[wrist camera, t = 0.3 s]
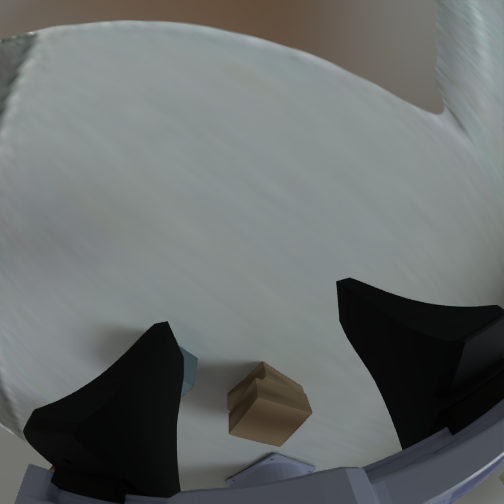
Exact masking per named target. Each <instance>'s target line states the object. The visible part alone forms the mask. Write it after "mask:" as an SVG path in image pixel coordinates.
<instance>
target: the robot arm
mask: <svg viewBox="0 0 504 504" xmlns="http://www.w3.org/2000/svg"><path fill="white" fill-rule="evenodd" d="M336 285H337V296H338V308H339V321H340V323H341V325H342V328H343V330H344V332H345V334H346V336H347V338H348V340H349V342H350V343H351V345H352V346H353V348H354V349H355V351H356V352H357V354H358V355H359V357H360V358H361V360H362V361H363V363H364V364H365V366H366V367H367V369H368V371H369V372H370V374H371V375H372V377H373V379H374V381H375V382H376V384H377V387H378V389H379V391H380V393H381V395H382V397H383V399H384V402H385V404H386V406H387V409H388V411H389V414H390V416H391V419H392V421H393V424H394V427H395V429H396V432H397V435H398V438H399V441H400V444H401V447H402V451H400V452H398V453H396V454H394V455H391V456H389V457H387V458H385V459H382V460H380V461H377V462H375V463H372V464H370V465H367V466H365V467H362V468H358V467H338V468H333V469H328V470H323V471H318V472H314V473H312V472H313V471H315V470H316V467H315V466H311V465H308V464H305V463H302V462H299V461H296V460H293V459H290V458H287V457H285V456H282V455H279V454H276V453H274V454H271V455H270V456H268V457H266V458H265V459H263V460H261V461H260V462H258V463H256V464H255V465H253V466H251V467H250V468H248V469H246V470H244V471H242V472H241V473H239V474H237V475H235V476H233V477H231V478H229V479H228V480H226V484H228V485H231V487H228V488H215V489H198V490H190V491H181V490H180V483H179V474H178V463H177V419H178V412H179V405H180V399H181V393H182V386H183V379H184V356H183V354H182V352H181V350H180V348H179V346H178V343H177V341H176V339H175V337H174V335H173V332H172V330H171V328H170V325H169V323H168V321H166V322H161V323H156V324H154V325H153V326H151V327H150V328H149V329H148V330H147V331H146V332H145V333H144V334H143V335H142V336H141V337H140V338H139V339H138V340H137V341H136V342H135V343H134V345H133V346H132V347H131V348H130V349H129V350H128V351H127V352H126V353H125V354H123V355H122V356H121V357H120V358H119V359H118V360H117V361H116V362H115V363H114V364H113V365H112V366H111V367H110V368H108V369H107V370H106V371H105V372H103V373H102V374H101V375H100V376H98V377H97V378H96V379H94V380H93V381H91V382H90V383H88V384H87V385H85V386H84V387H82V388H80V389H79V390H77V391H76V392H74V393H72V394H70V395H68V396H66V397H64V398H62V399H60V400H58V401H56V402H53V403H51V404H48V405H46V406H43V407H40V408H37V409H35V410H34V411H33V412H32V414H31V416H30V418H29V420H28V422H27V424H26V425H25V427H24V430H23V433H24V435H25V438H26V439H27V441H28V442H29V444H30V445H31V446H32V447H33V448H34V449H35V450H37V452H39V453H40V454H41V455H42V456H43V457H44V458H45V459H46V460H47V461H49V462H50V463H51V464H52V465H53V466H54V467H55V470H54V473H53V472H51V471H49V470H47V469H44V468H41V467H38V466H35V465H32V464H29V465H28V468H27V470H26V473H25V476H24V478H23V481H22V484H21V487H20V489H19V492H18V495H17V498H16V501H15V504H452V503H453V502H455V501H456V500H458V499H459V498H461V497H462V496H463V495H465V494H466V493H468V492H469V491H470V490H472V489H473V488H474V487H476V486H477V485H478V484H480V483H481V482H482V481H484V480H485V479H486V478H487V477H488V476H490V475H491V474H492V473H493V472H495V471H496V470H497V469H498V468H499V467H500V466H501V465H503V464H504V309H502V308H501V307H500V306H498V305H489V306H477V307H457V306H444V305H436V304H430V303H424V302H420V301H415V300H411V299H407V298H404V297H401V296H398V295H395V294H392V293H389V292H386V291H383V290H381V289H378V288H376V287H373V286H371V285H368V284H366V283H363V282H361V281H358V280H355V279H352V278H346V279H343V280H339V281H336Z"/></svg>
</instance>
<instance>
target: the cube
mask: <svg viewBox="0 0 504 504" xmlns="http://www.w3.org/2000/svg"><path fill="white" fill-rule="evenodd" d="M178 346H179V345H178ZM179 348H180V350H181V352H182V354H183V356H184V379H183V386H182V393H181V397H182V396H183V395H185V394H186V393H187V392H188V391H189V390H190V389H191V388H192V387H193V384H194V378H195V372H196V366H197V360H198V358H196V357H195V356H193V355H192V354H190V353H189V352H187V351H186V350H184V349H183V348H182V347H180V346H179Z"/></svg>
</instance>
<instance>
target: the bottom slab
mask: <svg viewBox="0 0 504 504" xmlns="http://www.w3.org/2000/svg"><path fill="white" fill-rule="evenodd" d="M255 378H258V379H261V380H264V381H267V382H270V383H273V384H276V385H279V386H282V387H285V388H288V389H291V390H294V391H297V392H301V393H304V391H303V388H302V386H301V385H300V384H298V383H296V382H295V381H293V380H291V379H290V378H288V377H287V376H285V375H283V374H282V373H280V372H279V371H277V370H276V369H274V368H272V367H271V366H269V365H268V364H266V363H265V362H263V363H261V364H260V365H259V366H258V367H257V368H256V369H255V370H254V371H253V372H252V373H251V374H249V375H248V376H247V377H246V378H245V379H244V380H243V381H242V382H240V383H239V384H238V385H237V386H236V387H235V388H234V389H232V390H231V391H230V392H229V393H228V410H230V411H232V409H233V408H234V407H235V405H236V404H237V403H238V401H239V400H240V399H241V397H242V396H243V394H244V393H245V392H246V390H247V389H248V388H249V386H250V385H251V383H252V382H253V381H254V379H255ZM304 394H305V393H304Z"/></svg>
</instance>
